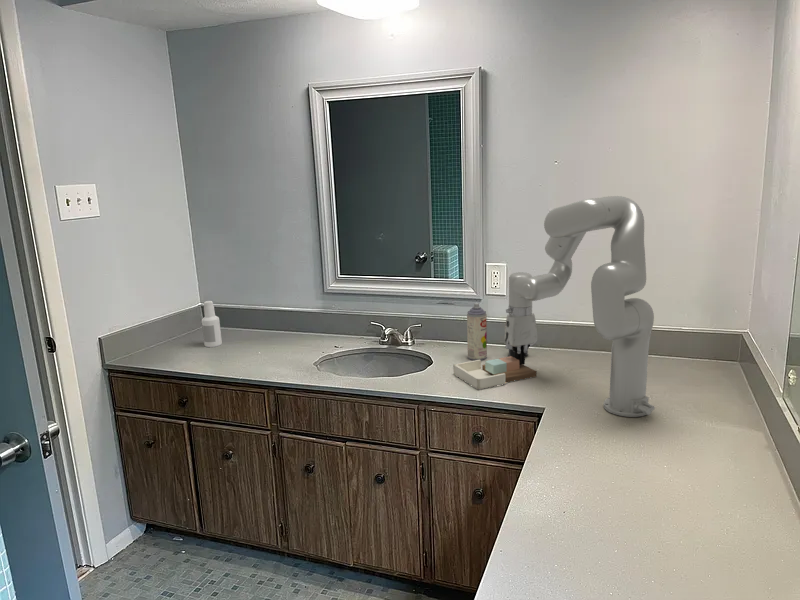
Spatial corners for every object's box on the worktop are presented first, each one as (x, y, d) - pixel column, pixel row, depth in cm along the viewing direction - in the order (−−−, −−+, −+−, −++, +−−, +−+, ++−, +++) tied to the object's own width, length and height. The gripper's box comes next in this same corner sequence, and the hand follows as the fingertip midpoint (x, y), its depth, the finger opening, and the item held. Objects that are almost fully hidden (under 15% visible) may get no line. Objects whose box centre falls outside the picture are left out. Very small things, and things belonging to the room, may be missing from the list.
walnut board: (536, 376, 200) (536, 371, 199) (505, 383, 195) (505, 377, 195) (512, 364, 212) (512, 359, 212) (482, 370, 208) (482, 364, 207)
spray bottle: (204, 343, 251) (199, 300, 247) (221, 341, 253) (217, 299, 249) (204, 348, 245) (199, 304, 241) (222, 346, 247) (217, 302, 243)
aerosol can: (483, 361, 216) (483, 306, 212) (465, 359, 219) (464, 305, 214) (489, 355, 222) (488, 302, 218) (470, 353, 225) (470, 300, 220)
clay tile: (519, 369, 202) (519, 360, 201) (506, 371, 200) (506, 362, 200) (511, 364, 207) (511, 356, 206) (498, 367, 205) (498, 358, 204)
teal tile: (506, 371, 200) (506, 362, 200) (493, 374, 198) (493, 365, 198) (498, 367, 205) (498, 358, 204) (485, 369, 203) (485, 361, 202)
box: (505, 384, 194) (505, 374, 193) (478, 390, 190) (477, 379, 190) (479, 369, 209) (479, 359, 208) (453, 374, 205) (453, 364, 204)
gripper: (507, 316, 195) (506, 370, 199) (546, 310, 200) (545, 363, 204) (494, 311, 201) (494, 363, 206) (532, 305, 207) (532, 356, 211)
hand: (520, 363), depth 205 cm, fingers closed
